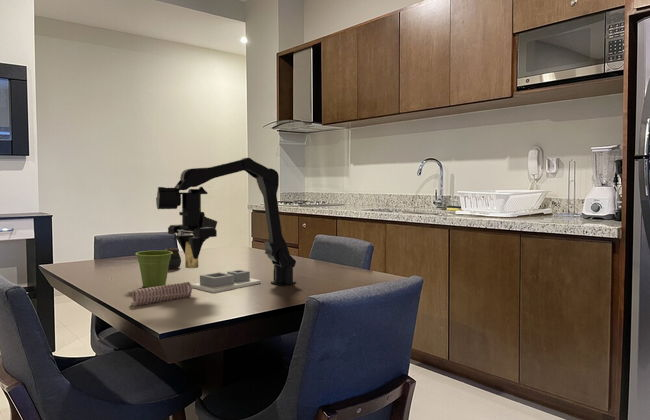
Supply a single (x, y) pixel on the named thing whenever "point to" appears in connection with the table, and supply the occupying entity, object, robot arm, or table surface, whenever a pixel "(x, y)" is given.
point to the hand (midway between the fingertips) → (192, 258)
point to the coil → (161, 293)
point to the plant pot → (154, 267)
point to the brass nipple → (190, 257)
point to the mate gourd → (174, 258)
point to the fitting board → (225, 281)
